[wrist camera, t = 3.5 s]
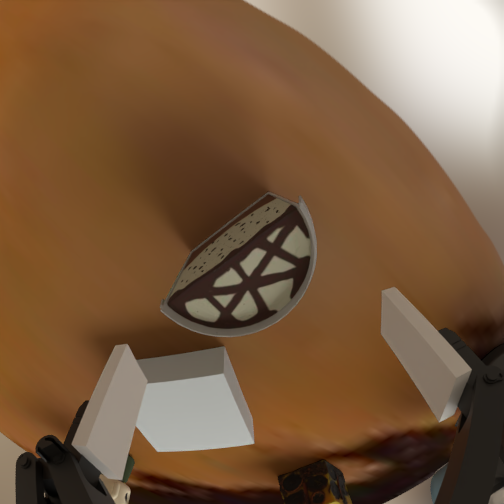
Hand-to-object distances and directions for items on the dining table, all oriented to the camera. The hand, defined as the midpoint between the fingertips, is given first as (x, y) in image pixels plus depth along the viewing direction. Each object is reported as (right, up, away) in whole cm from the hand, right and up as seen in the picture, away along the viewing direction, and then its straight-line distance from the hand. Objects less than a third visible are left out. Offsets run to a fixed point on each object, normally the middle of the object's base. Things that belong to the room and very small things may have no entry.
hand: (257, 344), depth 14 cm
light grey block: (-9, -14, +21) cm, 27 cm away
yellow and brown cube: (+12, -39, +31) cm, 52 cm away
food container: (-1, +5, +15) cm, 15 cm away
